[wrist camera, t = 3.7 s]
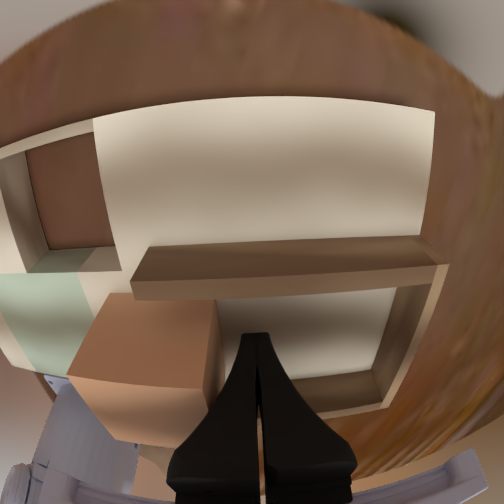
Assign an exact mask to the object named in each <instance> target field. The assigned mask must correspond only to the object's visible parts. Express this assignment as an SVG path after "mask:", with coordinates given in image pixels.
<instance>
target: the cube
mask: <svg viewBox="0 0 504 504" xmlns="http://www.w3.org/2000/svg"><path fill="white" fill-rule="evenodd" d="M225 369H226V367H225V360H224V353H223V347H222V340H221V333H220V326H219V319H218V311H217V304H216V299H212V300H166V301H135V298H134V295H133V293H109V295H108V297H107V298H106V300H105V302H104V303H103V305H102V307H101V309H100V310H99V312H98V314H97V316H96V318H95V319H94V321H93V323H92V325H91V327H90V328H89V330H88V332H87V334H86V336H85V338H84V340H83V342H82V343H81V345H80V347H79V349H78V351H77V353H76V355H75V357H74V359H73V361H72V363H71V365H70V367H69V369H68V371H67V373H66V376H67V377H68V379H69V380H70V382H71V383H72V384H73V386H74V387H75V389H76V390H77V392H78V393H79V394H80V396H81V397H82V399H83V400H84V401H85V403H86V404H87V405H88V407H89V408H90V409H91V410H92V412H93V413H94V414H95V416H96V417H97V418H98V419H99V421H100V422H101V423H102V424H103V426H104V427H105V428H106V429H107V430H108V431H109V433H110V434H111V435H112V436H113V437H114V438H115V439H116V440H121V441H127V442H132V443H139V444H145V445H153V446H161V447H170V448H178V447H179V446H180V445H181V444H182V443H183V442H184V441H185V440H186V439H187V438H188V436H189V435H190V434H191V433H192V432H193V431H194V430H195V428H196V427H197V426H198V425H199V423H200V422H201V421H202V420H203V418H204V417H205V416H206V414H207V413H208V411H209V410H210V408H211V407H212V405H213V404H214V402H215V400H216V399H217V397H218V395H219V394H220V392H221V390H222V388H223V386H224V384H225Z"/></svg>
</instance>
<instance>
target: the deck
mask: <svg viewBox="0 0 504 504" xmlns="http://www.w3.org/2000/svg"><path fill="white" fill-rule="evenodd" d="M434 118H435V112H432V111H428V110H422V109H417V108H412V107H406V106H400V105H393V104H386V103H379V102H370V101H361V100H351V99H339V98H324V97H298V96H261V97H235V98H220V99H207V100H197V101H188V102H179V103H172V104H165V105H158V106H152V107H146V108H140V109H134V110H129V111H124V112H119V113H114V114H110V115H105V116H101V117H97V118H92V119H88V120H85V121H81V122H77V123H73V124H70V125H66V126H63V127H59V128H56V129H53V130H50V131H46V132H43V133H40V134H37V135H34V136H31V137H29V138H26V139H23V140H20V141H18V142H15V143H12V144H10V145H7V146H5V147H2V148H0V348H1V349H2V351H3V352H4V354H5V356H6V357H7V359H8V360H9V361H10V362H11V364H12V366H16V367H19V368H23V369H28V370H32V371H36V372H41V373H45V374H50V375H55V376H60V377H66V378H68V377H67V376H66V373H67V371H68V369H69V367H70V365H71V363H72V361H73V359H74V357H75V355H76V353H77V351H78V349H79V347H80V345H81V343H82V342H83V340H84V338H85V336H86V334H87V332H88V330H89V328H90V327H91V325H92V323H93V321H94V319H95V318H96V316H97V314H98V312H99V310H100V309H101V307H102V305H103V303H104V302H105V300H106V298H107V297H108V295H109V293H133V292H132V288H131V285H130V280H131V278H132V276H133V274H134V272H135V270H136V269H137V267H138V265H139V263H140V261H141V260H142V258H143V256H144V254H145V252H146V251H147V249H148V247H152V246H171V245H190V244H210V243H230V242H252V241H274V240H297V239H322V238H348V237H376V236H406V235H420V231H421V226H422V220H423V215H424V209H425V203H426V197H427V191H428V184H429V176H430V168H431V159H432V148H433V136H434ZM93 131H94V136H95V144H96V151H97V158H98V164H99V170H100V176H101V182H102V187H103V192H104V197H105V202H106V207H107V212H108V216H109V221H110V225H111V230H112V234H113V238H114V242H115V246H107V247H91V248H76V249H61V250H49V248H48V245H47V242H46V239H45V235H44V232H43V229H42V225H41V222H40V218H39V215H38V211H37V207H36V203H35V199H34V195H33V190H32V186H31V181H30V177H29V172H28V166H27V161H26V155H25V150H28V149H31V148H34V147H37V146H40V145H44V144H47V143H50V142H54V141H57V140H61V139H65V138H68V137H72V136H76V135H80V134H84V133H88V132H93ZM396 289H397V287H393V288H383V289H373V290H362V291H350V292H338V293H325V294H311V295H296V296H280V297H261V298H239V299H216V304H217V311H218V319H219V326H220V333H221V340H222V347H223V353H224V360H225V367H226V369H225V382H226V380H227V378H228V376H229V374H230V371H231V369H232V366H233V364H234V361H235V358H236V355H237V352H238V349H239V345H240V340H241V335H242V334H243V333H258V332H268V333H269V334H270V338H271V342H272V345H273V347H274V350H275V352H276V354H277V356H278V359H279V361H280V362H281V364H282V366H283V368H284V370H285V372H286V373H287V375H288V377H289V378H290V380H291V379H302V378H312V377H321V376H329V375H337V374H344V373H351V372H358V371H364V370H370V369H371V367H372V364H373V362H374V359H375V356H376V353H377V350H378V348H379V345H380V342H381V339H382V336H383V333H384V330H385V326H386V323H387V320H388V317H389V313H390V310H391V307H392V303H393V300H394V296H395V292H396Z"/></svg>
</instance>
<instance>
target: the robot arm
mask: <svg viewBox="0 0 504 504" xmlns="http://www.w3.org/2000/svg"><path fill="white" fill-rule="evenodd" d="M44 378H45V379H46V381H47V382H48V383H49V385H50V386H51V388H52V389H53V390H54V392H55V393H56V394H57V397H56V399H55V402H54V404H53V406H52V409H51V411H50V414H49V416H48V419H47V421H46V424H45V426H44V429H43V432H42V434H41V437H40V440H39V442H38V445H37V448H36V451H35V454H34V457H33V460H32V463H31V464H27V465H25V464H24V463H20V464H18V465H14V466H13V467H12V468H11V470H10V472H9V474H8V476H7V479H6V482H5V485H4V488H3V491H2V495H1V500H0V504H261V503H260V481H259V460H258V438H257V419H258V404H259V411H260V417H261V424H262V436H263V455H264V475H265V496H266V504H461V503H463V502H465V501H467V500H469V499H470V498H472V497H474V496H475V495H477V494H479V493H480V492H482V491H484V490H485V489H487V488H488V484H487V481H486V478H485V475H484V473H483V470H482V467H481V465H480V462H479V460H478V457H477V455H476V452H475V450H474V448H470V449H468V450H466V451H464V452H461V453H459V454H457V455H455V456H453V457H452V458H450V459H449V460H448V461H447V462H445V464H443V465H441V466H438V467H436V468H434V469H431V470H428V471H426V472H423V473H421V474H418V475H415V476H412V477H409V478H406V479H404V480H400V481H397V482H394V483H391V484H387V485H384V486H381V487H377V488H373V489H369V490H365V491H361V492H357V493H352V492H351V487H350V485H351V483H352V481H351V476H350V475H351V474H352V473H353V471H354V470H355V469H356V468H357V465H358V464H357V460H356V457H355V455H354V453H353V451H352V449H351V447H350V445H349V443H348V442H347V441H346V440H344V439H343V438H342V437H341V436H339V435H338V434H337V433H336V432H335V431H333V430H332V429H331V428H330V427H329V426H328V425H327V424H326V423H325V422H324V421H323V420H322V419H321V418H320V417H319V416H318V415H317V414H316V413H315V412H314V411H313V409H312V408H311V407H310V406H309V405H308V404H307V402H306V401H305V400H304V399H303V397H302V396H301V395H300V393H299V392H298V391H297V389H296V388H295V386H294V385H293V383H292V382H291V380H290V378H289V377H288V375H287V373H286V372H285V370H284V368H283V366H282V364H281V362H280V361H279V359H278V356H277V354H276V352H275V350H274V347H273V345H272V342H271V338H270V334H269V333H268V332H258V333H243V334H242V335H241V340H240V345H239V349H238V352H237V355H236V358H235V361H234V364H233V366H232V369H231V371H230V374H229V376H228V378H227V380H226V382H225V384H224V386H223V388H222V390H221V392H220V394H219V395H218V397H217V399H216V400H215V402H214V404H213V405H212V407H211V408H210V410H209V411H208V413H207V414H206V416H205V417H204V418H203V420H202V421H201V422H200V423H199V425H198V426H197V427H196V428H195V430H194V431H193V432H192V433H191V434H190V435H189V436H188V438H187V439H186V440H185V441H184V442H183V443H182V444H181V445H180V446H179V447H178V448H177V449H176V450H175V451H174V453H173V456H172V458H171V460H170V463H169V467H168V471H167V479H166V483H167V484H168V485H169V486H170V487H171V488H172V489H173V490H174V491H175V492H176V499H175V502H169V501H162V500H156V499H149V498H143V497H138V496H133V495H128V494H129V493H130V491H131V489H132V487H133V484H134V479H135V473H136V467H137V462H138V457H139V451H140V446H141V444H139V443H132V442H127V441H121V440H116V439H115V438H114V437H113V436H112V435H111V434H110V433H109V431H108V430H107V429H106V428H105V427H104V426H103V424H102V423H101V422H100V421H99V419H98V418H97V417H96V416H95V414H94V413H93V412H92V410H91V409H90V408H89V407H88V405H87V404H86V403H85V401H84V400H83V399H82V397H81V396H80V394H79V393H78V392H77V390H76V389H75V387H74V386H73V384H72V383H71V382H70V380H69V379H68V378H66V377H60V376H55V375H50V374H44Z"/></svg>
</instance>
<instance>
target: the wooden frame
mask: <svg viewBox="0 0 504 504" xmlns="http://www.w3.org/2000/svg"><path fill="white" fill-rule="evenodd" d="M448 267H449V263H448V262H447V261H446V260H445V259H444V258H443V257H442V256H441V255H440V254H439V253H438V252H437V251H436V250H435V249H434V248H433V247H432V246H431V245H430V244H429V243H427V242H426V241H425V240H424V239H423V238H422V237H421V236H420V235H406V236H376V237H348V238H322V239H297V240H274V241H252V242H230V243H210V244H190V245H171V246H152V247H148V249H147V251H146V252H145V254H144V256H143V258H142V260H141V261H140V263H139V265H138V267H137V269H136V270H135V272H134V274H133V276H132V278H131V280H130V285H131V288H132V292H133V295H134V298H135V301H166V300H212V299H239V298H261V297H280V296H296V295H311V294H325V293H338V292H350V291H362V290H373V289H383V288H393V287H397V289H396V292H395V296H394V300H393V303H392V307H391V310H390V313H389V317H388V320H387V323H386V326H385V330H384V333H383V336H382V339H381V342H380V345H379V348H378V350H377V353H376V356H375V359H374V362H373V364H372V367H371V369H370V370H364V371H358V372H351V373H344V374H337V375H329V376H321V377H312V378H302V379H291V382H292V383H293V385H294V386H295V388H296V389H297V391H298V392H299V393H300V395H301V396H302V397H303V399H304V400H305V401H306V402H307V404H308V405H309V406H310V407H311V408H312V409H313V411H314V412H315V413H316V414H317V415H318V416H319V417H320V418H321V419H328V418H335V417H341V416H347V415H353V414H358V413H363V412H368V411H373V410H378V409H382V408H387V407H388V406H389V405H390V403H391V401H392V399H393V397H394V396H395V394H396V392H397V390H398V388H399V386H400V384H401V383H402V381H403V379H404V377H405V375H406V373H407V371H408V369H409V367H410V365H411V362H412V360H413V358H414V356H415V354H416V352H417V350H418V347H419V345H420V343H421V340H422V338H423V336H424V333H425V331H426V329H427V326H428V324H429V321H430V319H431V316H432V314H433V311H434V308H435V306H436V303H437V300H438V297H439V294H440V292H441V289H442V286H443V283H444V280H445V276H446V273H447V270H448ZM257 425H262V424H261V417H260V411H259V404H258V419H257Z"/></svg>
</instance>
